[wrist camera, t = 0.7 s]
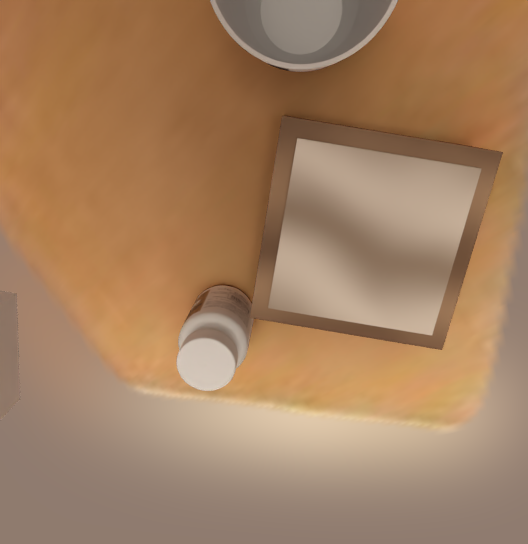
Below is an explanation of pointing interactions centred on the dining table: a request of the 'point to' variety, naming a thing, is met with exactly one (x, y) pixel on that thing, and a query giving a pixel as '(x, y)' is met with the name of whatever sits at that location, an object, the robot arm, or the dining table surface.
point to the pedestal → (369, 231)
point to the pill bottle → (214, 338)
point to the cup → (302, 29)
